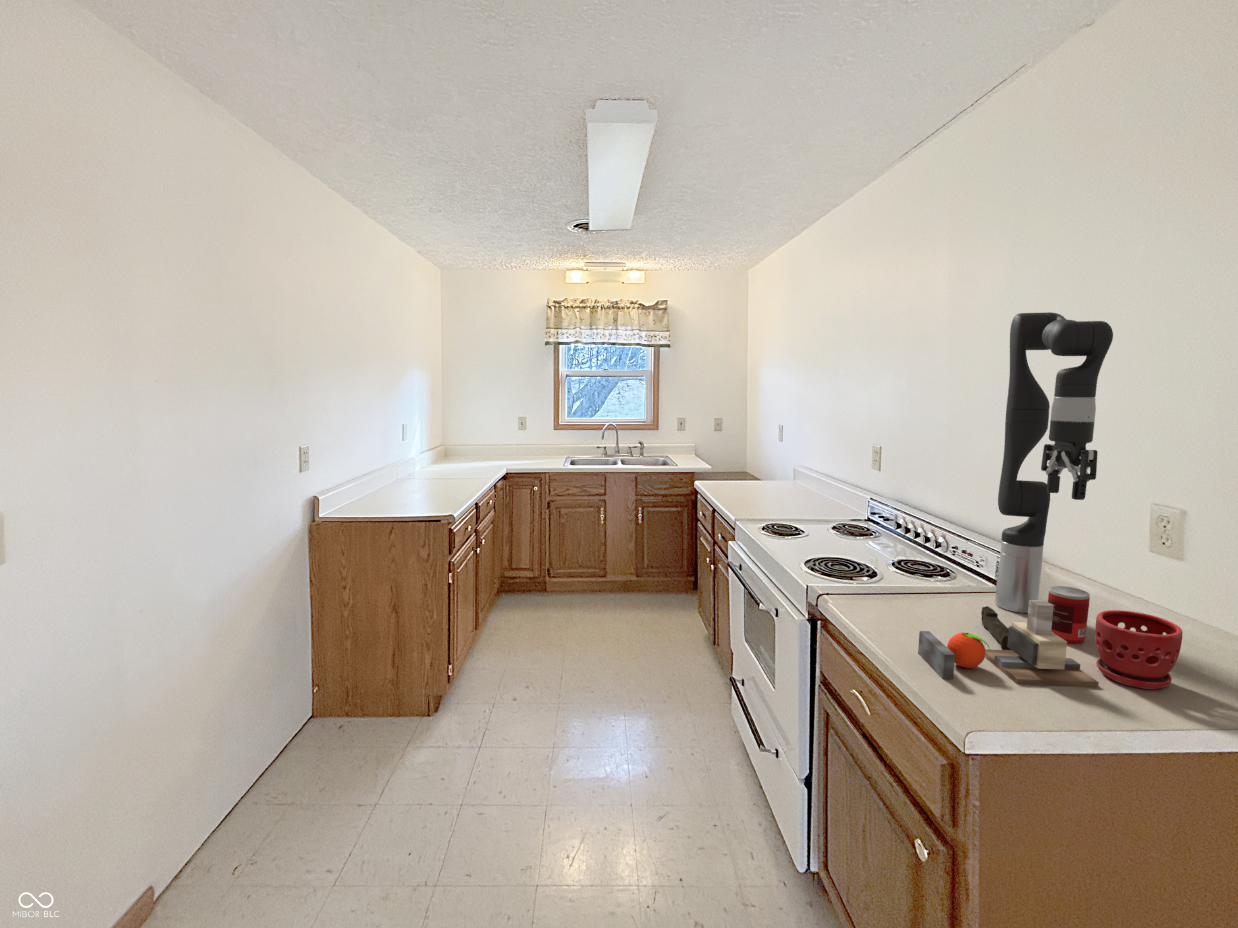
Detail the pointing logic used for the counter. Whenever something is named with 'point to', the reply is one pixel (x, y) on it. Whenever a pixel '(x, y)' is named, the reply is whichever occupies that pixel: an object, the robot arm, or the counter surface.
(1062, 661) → the jaw
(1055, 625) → the canned food
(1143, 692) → the counter surface
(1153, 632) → the plant pot
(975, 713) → the counter surface
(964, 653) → the clementine
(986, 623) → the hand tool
